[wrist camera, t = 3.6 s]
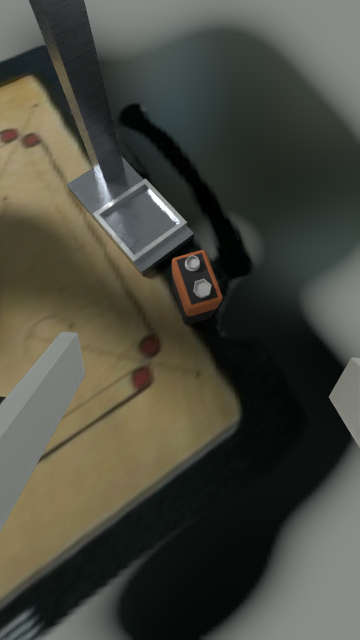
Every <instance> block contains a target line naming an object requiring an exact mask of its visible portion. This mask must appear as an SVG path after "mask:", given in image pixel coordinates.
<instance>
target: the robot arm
mask: <svg viewBox="0 0 360 640" xmlns="http://www.w3.org/2000/svg"><path fill="white" fill-rule="evenodd" d="M84 376H85V371H84V366H83V360H82V354H81V349H80V343H79V338H78V333H73V332H61V333H60V334H59V335H58V336H57V338H56V339H55V340H54V341H53V342H52V344H51V345H50V346H49V347H48V348H47V349H46V351H45V352H44V353H43V354H42V355H41V357H40V358H39V359H38V360H37V361H36V363H35V364H34V365H33V366H32V367H31V368H30V370H29V371H28V372H27V373H26V374H25V376H24V377H23V378H22V379H21V380H20V381H19V383H18V384H17V385H16V386H15V387H14V389H13V390H12V391H11V392H10V393H9V395H8V396H7V397H0V531H1V529H2V527H3V526H4V524H5V522H6V520H7V518H8V516H9V514H10V513H11V511H12V509H13V507H14V505H15V503H16V502H17V500H18V498H19V496H20V494H21V492H22V491H23V489H24V487H25V485H26V483H27V481H28V479H29V478H30V476H31V474H32V472H33V470H34V468H35V467H36V465H37V463H38V461H39V459H40V457H41V456H42V454H43V452H44V450H45V448H46V446H47V445H48V443H49V441H50V439H51V437H52V435H53V433H54V432H55V430H56V428H57V426H58V424H59V422H60V421H61V419H62V417H63V415H64V413H65V411H66V410H67V408H68V406H69V404H70V402H71V400H72V398H73V397H74V395H75V393H76V391H77V389H78V387H79V386H80V384H81V382H82V380H83V378H84ZM329 398H330V400H331V402H332V403H333V405H334V406H335V408H336V409H337V411H338V413H339V415H340V416H341V418H342V420H343V421H344V423H345V425H346V426H347V428H348V430H349V431H350V433H351V434H352V436H353V438H354V439H355V441H356V443H357V444H358V446H359V448H360V358H353V357H352V358H351V359H350V361H349V363H348V365H347V366H346V368H345V370H344V372H343V373H342V375H341V377H340V379H339V380H338V382H337V384H336V385H335V387H334V389H333V391H332V392H331V394H330V396H329Z"/></svg>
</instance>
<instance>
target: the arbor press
mask: <svg viewBox="0 0 360 640" xmlns="http://www.w3.org/2000/svg"><path fill="white" fill-rule="evenodd" d="M29 2H30V5H31V7H32V10H33V13H34V15H35V17H36V20H37V23H38V25H39V28H40V30H41V33H42V36H43V38H44V41H45V43H46V46H47V49H48V51H49V54H50V56H51V59H52V62H53V64H54V67H55V69H56V72H57V74H58V77H59V80H60V82H61V85H62V87H63V90H64V93H65V95H66V98H67V100H68V103H69V105H70V108H71V111H72V113H73V116H74V118H75V121H76V124H77V126H78V129H79V131H80V134H81V136H82V139H83V142H84V144H85V147H86V149H87V152H88V155H89V157H90V160H91V162H92V165H93V167H94V168H92V169H91V170H89V171H88V172H86V173H84V174H83V175H81V176H80V177H78V178H76V179H75V180H73V181H72V182H70V183H68V184H67V186H68V188H69V190H70V192H71V193H72V194H73V195H74V196H75V197H76V199H77V200H78V201H79V202H80V203H81V204H82V206H83V207H84V208H85V209H86V210H87V211H88V213H89V214H90V215H91V216H92V217H93V218H94V220H95V221H96V222H97V223H98V224H99V226H100V227H101V228H102V229H103V230H104V231H105V233H106V234H107V235H108V236H109V237H110V238H111V240H112V241H113V242H114V243H115V244H116V245H117V247H118V248H119V249H120V250H121V251H122V252H123V254H124V255H125V256H126V257H127V258H128V259H129V261H130V262H131V263H132V264H133V265H134V266H135V268H136V269H137V270H138V271H139V272H140V274H141V275H142V276H144V275H145V274H147V273H148V272H149V271H151V270H152V269H153V268H155V267H156V266H157V265H159V264H160V263H161V262H163V261H164V260H165V259H167V258H168V257H170V256H171V255H172V254H174V253H175V252H176V251H178V250H179V249H180V248H182V247H183V246H184V245H186V244H187V243H188V242H190V241H191V240H192V239H193V238H194V233H193V232H192V231H191V230H190V229H189V227H188V226H187V222H186V221H185V220H184V219H183V218H182V217H181V216H180V214H179V213H178V212H177V211H176V210H175V209H174V208H173V207H172V206H171V205H170V204H169V203H168V202H167V201H166V200H165V199H164V198H163V196H162V195H161V194H160V193H159V192H158V191H157V190H156V189H155V188H154V187H153V186H152V185H151V184H150V183H149V182H148V181H147V180H146V179H144V180H143V179H142V177H141V176H140V175H139V174H138V173H137V172H136V171H135V170H134V169H133V168H132V167H131V166H130V165H129V164H128V163H127V162H126V160H125V159H124V158H123V157H122V156H121V152H120V148H119V144H118V140H117V135H116V131H115V127H114V123H113V119H112V115H111V110H110V106H109V102H108V98H107V94H106V90H105V86H104V81H103V77H102V73H101V69H100V65H99V61H98V57H97V52H96V48H95V44H94V40H93V36H92V32H91V27H90V23H89V19H88V15H87V11H86V7H85V2H84V0H29Z"/></svg>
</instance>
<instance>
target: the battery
mask: <svg viewBox="0 0 360 640" xmlns="http://www.w3.org/2000/svg"><path fill="white" fill-rule="evenodd" d="M172 286H173V291H174V294H175V297H176V300H177V303H178V306H179V309H180V312H181V315H182V318H183V321H184V323H185V324H186V325H190V324H193V323H196V322H200V321H203V320H206V319H209V318H211V317H212V315H213V314H214V312H215V310H216V309H217V307H218V305H219V304H220V302H221V301H222V294H221V291H220V289H219V286H218V283H217V281H216V278H215V275H214V273H213V270H212V267H211V265H210V262H209V259H208V257H207V254H206V252H205V251H204V250H201V251H197V252H194V253H190V254H186V255H183V256H179V257H176V258H173V260H172Z"/></svg>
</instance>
